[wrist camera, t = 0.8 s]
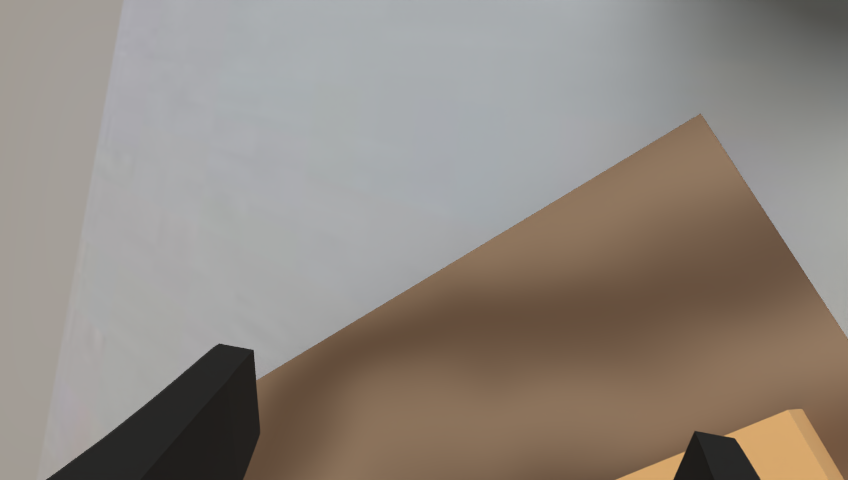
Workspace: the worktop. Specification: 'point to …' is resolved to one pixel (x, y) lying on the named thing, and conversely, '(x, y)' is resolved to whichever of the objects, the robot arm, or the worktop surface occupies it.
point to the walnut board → (573, 342)
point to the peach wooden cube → (768, 451)
